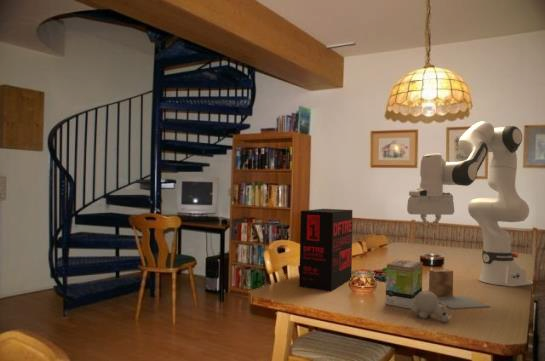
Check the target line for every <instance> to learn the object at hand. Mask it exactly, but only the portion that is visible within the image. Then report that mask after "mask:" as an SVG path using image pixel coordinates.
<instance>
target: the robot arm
mask: <svg viewBox="0 0 545 361" xmlns="http://www.w3.org/2000/svg"><path fill="white" fill-rule="evenodd" d="M522 142H523V133H522V131H521V130H520V129H519V128H518V126H515V125H507V126H500V127H494V126H493V125H492V123H490V122H488V121H483V120H482V121H478V122H476V123H475V124H473V125H472V126H471V127H469V128H468V129H467V130H466V131H465V132H464V133H463V134H462V135H461V137H460V138H459V140H458V148H459V150H460V152H461V153H462V154H463V155H465V156H466V157H468V158H467V159H465V160H462V161H449V162H448V161H446V160H444V159H443V157H442V154H441V153H437V152H436V153H426V154H424V155H423V156H422V158H421V161H420V170H419V172H420V174H419V176H420V183H419V187H418V188H415V189H412V190H409V191H408V196H409V198H408V199H407V203H406V204H407V206H406V208H407V209H406V210H407V214H409V215H420V219H421V221H422V225H423V227H425V226H426V227H427V226H429V225H430V224H429V223H430V222H429V221H427V217H428V216H427V215H433V216H435V219H434V220H433V221H432V226H436V227H437V226H439V224H440V223H439V221H440V220H441V219H442V215H443V216H444V215H445V216H446V215H447V216H448V215H449V216H450V215H454V214H455V203H454V196H453V194H452V193H450V192H444V191H443V190H444V186H445V185H448V186H462V187H463V186H464V187H468V186H470V185H472V184H473V183H474V182H475V180H476V179H477V176H478V171H479V170H480V168H481V167H482V165H483V163H484V161H485V159H486V157H487V155H488V153H492V159H491V162H490V166H489V171H488V172H489V173H488V178H487V184H488V186H489V188H490V189H492V190H493V191H496V192H497V193H498V196H497V197H491V196H490V197H489V196H488V197H484V196H483V197H478V198H473V199H471V200H470V201H469V203H468V205H467V210H468V212H467V213H468V214H469V216H470V217H471V218H472V219H473V220H475V222H476V223H477V224H478V225H479V227H480V229H481V233H482V239H483V240H482V241H483V242H482V243H483V244H482V245H483V249H482V252H481V253H482V256H481V258H482V264H481V266H482V267H481V272H480V276H479V279H478V280H479V281H480V282H483V283H485V284H486V283H487V284H491V285H498V286H505V287H522V286H529V285H533V284H534V282H533V281H532V280H530V279H528V277H527V272H526V270H525V268H524V267H522V266H521V265H520V264H519V263H517V262H516V261H515V258H516V259H517V258H519V257H520V255H519V254H518V253H517V252H516V253H515V252H511V251H512V250H511V248H512V245H511V243H512V241H511V240H512V239H511V236H510V234H509V232H508V231H506V230H505V229H502V228H501V227H500V225H499V222H502V223H504V222H505V223H518V222H524V221H525V220H526V219H527V218H528V216H529V214H530V207H529V205H528V203H527V202H526V201H525V200H524V199H523V198H522V197H521V196H520V195H519V194H518V192H517V188H516V179H517V178H516V176H517V169H518V168H517V167H518V157H517V150H518V149H519V147H520V145H521V143H522Z"/></svg>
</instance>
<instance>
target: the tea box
mask: <svg viewBox="0 0 545 361" xmlns="http://www.w3.org/2000/svg"><path fill="white" fill-rule="evenodd" d="M423 264H424V262H422V261H415V260H408V259H395V260H393V261H391V262H388V263H387V264H386V268H387V275H386V282H385V300H384V301H385V302H384V303H385V304H386V305H389V306H393V307H399V308H404V309H405V308H406V309H411V307H412V305H413V304H414V303H415V299H416V296H417V294H418V293H419V292H422V291H423V266H424V265H423Z"/></svg>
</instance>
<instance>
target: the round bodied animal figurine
mask: <svg viewBox="0 0 545 361" xmlns="http://www.w3.org/2000/svg"><path fill="white" fill-rule="evenodd" d="M447 306H448V305H441V304H439V301H438V298H437V296H436V295H435V294H434V293H432V292H430V291H429V290H422V292H419V293H418V294H417V296H416V299H415V303H414V304H413V305H412V307H411V308H410V311H411V312H412V313H415V314H418V316H419V318H421V319H423V320H427V318H431V317H432V314H434V316H435V317H438V318H439V319H440V321H441V322H442V323H447V322H449V320H450V319H451V318H452V314H450V315H449V314H448V307H447Z"/></svg>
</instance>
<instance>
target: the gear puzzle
mask: <svg viewBox="0 0 545 361" xmlns="http://www.w3.org/2000/svg"><path fill="white" fill-rule="evenodd" d="M372 272H374V273H375V276H374V278H375V280H374V281H377V282H384V283H386V275H387V267H383V268H381V269H374V270H373V271H372Z"/></svg>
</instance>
